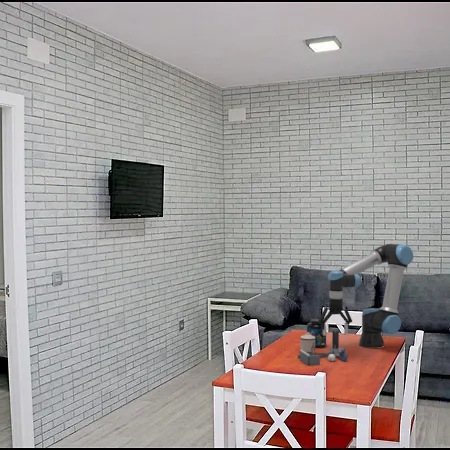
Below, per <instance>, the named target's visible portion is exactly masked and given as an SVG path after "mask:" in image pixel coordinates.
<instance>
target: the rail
mask: <svg viewBox="0 0 450 450" xmlns="http://www.w3.org/2000/svg"><path fill="white" fill-rule="evenodd" d="M330 354H332V353H329V352H319V353H313V355H320V359H321V358H322V359H323V358H328V356H329V355H330ZM337 357H338V358H340V356H335V358H337ZM296 358H297V360H300V354H297V357H296Z"/></svg>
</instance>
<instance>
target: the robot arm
mask: <svg viewBox="0 0 450 450" xmlns="http://www.w3.org/2000/svg"><path fill="white" fill-rule="evenodd" d="M413 260H414V252H413V250H412V248H411V247H410V246H409V245H407V244H398V243H387V244H386V243H385V244H382V245H381V246H379V247H376V248H375V249H372V250H371V251H370V253H369V254H367V255H365V256H363V257H361V258H359V259H357V260H356V261H354V262H352V263H350V264H348V265H347V266H344V267H343V268H340V269H339V270H331V271H330V272H329V273H328V275H327V281H328V283H329V291H328V292H329V293H328V295H329V296H328V297H329V300H328V302H329V303H328V306H324V307H323V311H322V313H321V314H320V317H319V321H318V322H319V323H321V324H322V325H321V329H322V330H323V335H324V336H326V337H327V324H326V323H327V322H328V320H329V319H330V318H331V316H333V315H339V316H341V318H342V320H343V321H344V324H343V325H344V330H343V333H344V335H345V336H348V331H349V328H350V324H351V323H353V319H352V317H351V314H350V312H349V310H348V309H349V308H348V306H346V305H343V300H344V299H343V295H344V294H343V293H344V292H343V291H344V288H358V287H360V286H361V284H362V280H361V279H362V278H361V276H360V275H359V274H361V273H363V272H365V271H367V270H369V269H370V268H372V267H374V266H376V265H379V266H380V265H382V264H384V263H387V266H388V267H389V269H388V275H387V281H386V283H385V290H384V296H383V300H382V301H383V302H382V306H381V307H379V308H364V309H363V310H362V314H361V335H360V338H359V340H358V345H359V346H360V347H362V346H363V347H362V348H366V347H382V346H384V347H385V342H384V338H383V335H382V333H384V334H389V335H393V334H396V333H397V332H398V331H399V330H400V329H401V326H402V320H401V318H400V316H399V314H400V313H399V310H398V306H399V305H398V304H399V300H400V293H401V288H402V283H403V277H404V273H405V271H406V270H407V269H408V267H409V266H408V265H410V264H411V263H412V262H413ZM343 311H344V312H343ZM345 315H346V316H345ZM382 348H383V347H382Z"/></svg>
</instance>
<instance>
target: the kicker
mask: <svg viewBox="0 0 450 450" xmlns="http://www.w3.org/2000/svg"><path fill="white" fill-rule="evenodd" d="M339 332H340V331H339V330H337V329H335V330H332V332H331V333H332V336H331V337H332V340H331V341H332V343H331V345H332V347H329V349H328V353H332V354H333V355H335V356H339V360H341V361H342V362H346V361H348V353H347V352H346V349H345V348H344V347H343V348H341V347H339V345H340V342H339V341H340V339H339V338H340V335H339Z"/></svg>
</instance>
